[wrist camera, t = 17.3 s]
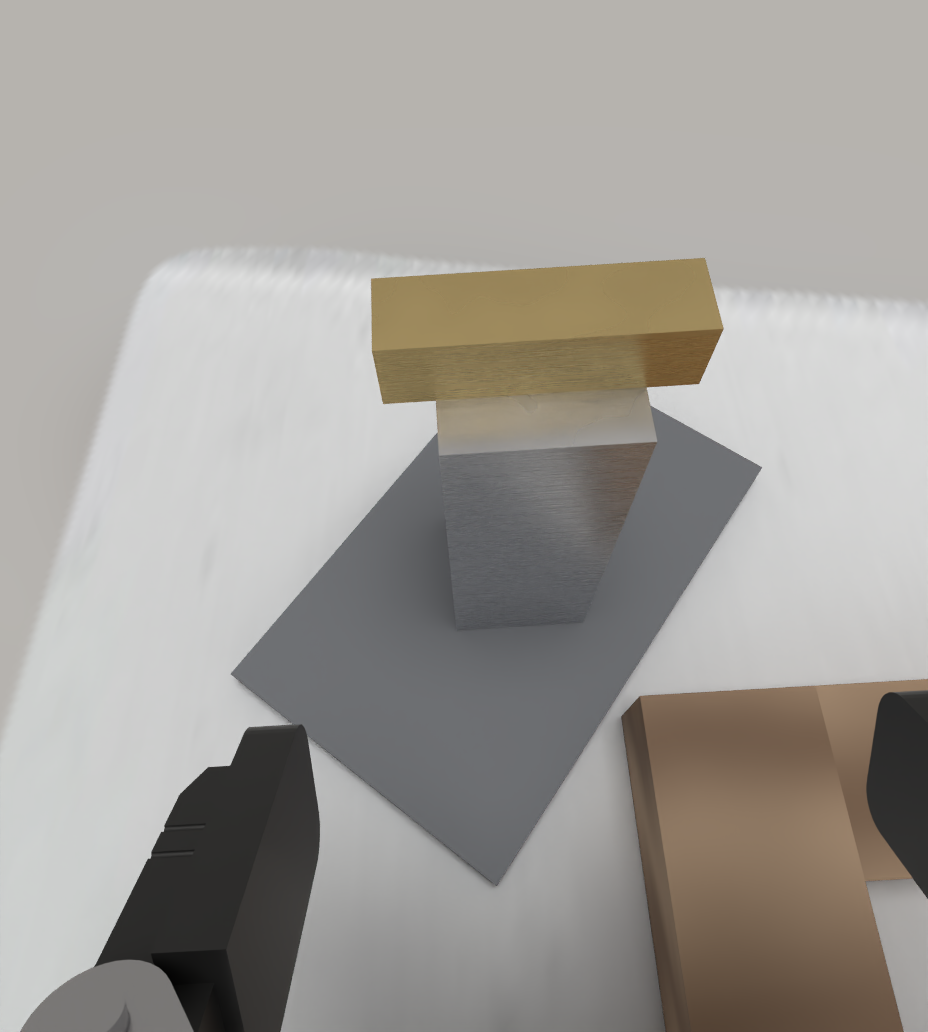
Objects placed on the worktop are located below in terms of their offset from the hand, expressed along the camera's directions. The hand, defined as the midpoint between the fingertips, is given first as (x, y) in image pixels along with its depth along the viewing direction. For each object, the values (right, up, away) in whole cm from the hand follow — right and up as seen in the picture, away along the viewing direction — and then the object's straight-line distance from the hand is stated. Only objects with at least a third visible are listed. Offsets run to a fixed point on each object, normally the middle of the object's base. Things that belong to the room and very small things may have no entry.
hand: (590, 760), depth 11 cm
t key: (0, +2, +14) cm, 14 cm away
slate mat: (0, +1, +15) cm, 15 cm away
